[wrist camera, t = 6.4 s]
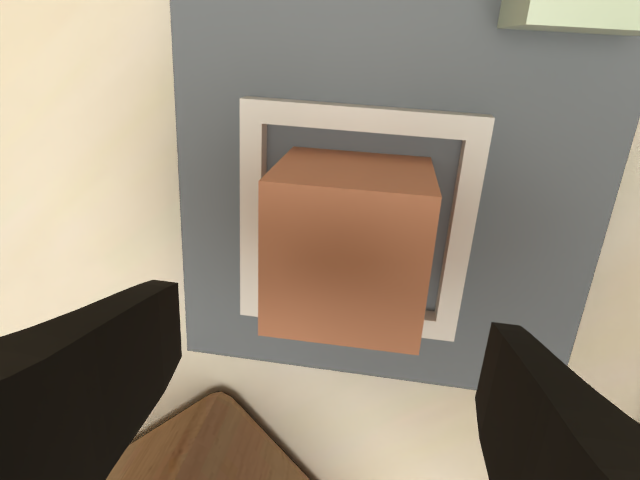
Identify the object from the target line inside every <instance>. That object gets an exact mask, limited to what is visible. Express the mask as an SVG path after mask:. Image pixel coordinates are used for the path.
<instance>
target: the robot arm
mask: <svg viewBox="0 0 640 480" xmlns="http://www.w3.org/2000/svg"><path fill="white" fill-rule="evenodd" d="M181 357H182V351H181V332H180V313H179V294H178V283H175V282H167V281H158V280H151V281H148V282H144V283H141V284H139V285H136V286H133V287H131V288H128V289H126V290H123V291H121V292H118V293H116V294H114V295H111V296H109V297H106V298H104V299H102V300H99V301H97V302H94V303H92V304H89V305H87V306H85V307H82V308H80V309H77V310H75V311H72V312H70V313H67V314H64V315H62V316H59V317H56V318H54V319H51V320H48V321H46V322H43V323H40V324H38V325H35V326H32V327H30V328H27V329H24V330H21V331H18V332H15V333H11V334H8V335H5V336H2V337H0V480H106V479H107V477H108V475H109V474H110V472H111V471H112V469H113V468H114V466H115V465H116V463H117V462H118V460H119V459H120V457H121V456H122V454H123V453H124V451H125V450H126V449H127V447H128V446H129V444H130V443H131V441H132V440H133V438H134V437H135V435H136V434H137V432H138V431H139V429H140V428H141V426H142V425H143V424H144V422H145V421H146V419H147V418H148V416H149V415H150V413H151V412H152V410H153V409H154V407H155V406H156V404H157V403H158V401H159V400H160V398H161V396H162V395H163V393H164V392H165V390H166V388H167V386H168V384H169V382H170V380H171V378H172V376H173V374H174V372H175V370H176V368H177V365H178V363H179V361H180V359H181ZM475 401H476V412H477V422H478V430H479V439H480V443H481V447H482V452H483V456H484V460H485V464H486V468H487V472H488V476H489V480H640V424H639V423H638V422H636V421H635V420H634V419H632V418H631V417H629V416H628V415H627V414H625V413H624V412H623V411H621V410H620V409H619V408H618V407H616V406H615V405H614V404H612V403H611V402H610V401H609V400H607V399H606V398H605V397H603V396H602V395H601V394H600V393H598V392H597V391H596V390H595V389H593V388H592V387H591V386H590V385H589V384H587V383H586V382H585V381H584V380H583V379H581V378H580V377H579V376H578V375H577V374H576V373H574V372H573V371H572V370H571V369H570V368H569V367H568V366H566V365H565V364H564V363H563V362H562V361H561V360H560V359H559V358H557V357H556V356H555V355H554V354H553V353H552V352H551V351H550V350H549V349H547V348H546V347H545V346H544V345H543V344H542V343H541V342H540V341H539V340H537V339H536V338H535V337H534V336H533V335H532V334H531V333H529V332H528V331H527V330H526V329H524V328H523V327H522V326H520V325H513V324H505V323H497V322H491V327H490V331H489V336H488V341H487V345H486V350H485V355H484V359H483V364H482V368H481V373H480V378H479V382H478V387H477V392H476V396H475Z"/></svg>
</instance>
